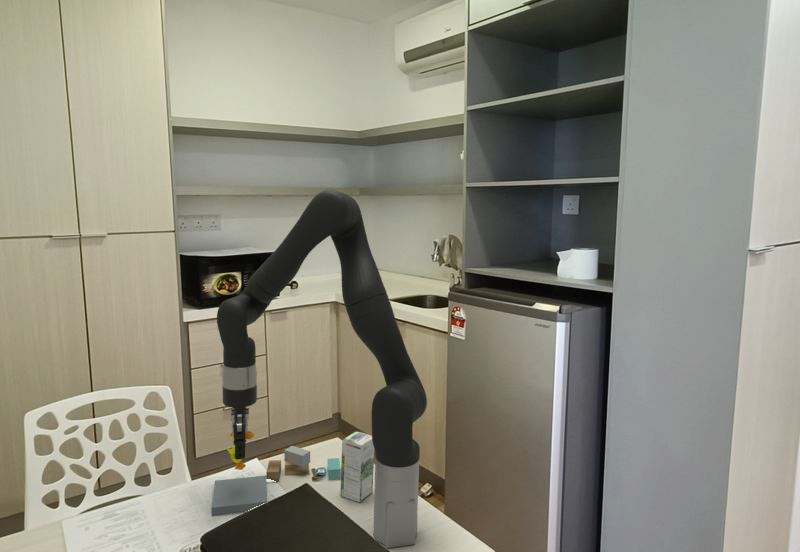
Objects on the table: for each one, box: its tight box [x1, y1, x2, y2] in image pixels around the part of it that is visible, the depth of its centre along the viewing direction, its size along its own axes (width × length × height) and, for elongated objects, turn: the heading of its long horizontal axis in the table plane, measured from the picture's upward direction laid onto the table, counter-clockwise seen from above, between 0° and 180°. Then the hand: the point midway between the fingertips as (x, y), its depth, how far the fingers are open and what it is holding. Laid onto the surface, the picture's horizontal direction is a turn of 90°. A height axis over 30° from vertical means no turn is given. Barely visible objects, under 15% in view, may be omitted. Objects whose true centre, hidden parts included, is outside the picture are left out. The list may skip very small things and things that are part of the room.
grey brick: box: [283, 445, 311, 467], centre depth 139 cm, size 6×3×3 cm, turn 61°
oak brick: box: [284, 461, 310, 477], centre depth 139 cm, size 6×3×3 cm, turn 101°
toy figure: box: [226, 419, 255, 471], centre depth 124 cm, size 7×4×12 cm, turn 80°
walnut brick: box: [265, 459, 282, 483], centre depth 137 cm, size 6×3×3 cm, turn 7°
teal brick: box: [327, 457, 341, 481], centre depth 139 cm, size 6×3×3 cm, turn 9°
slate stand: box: [211, 474, 268, 517], centre depth 126 cm, size 12×12×2 cm
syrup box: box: [339, 431, 375, 503], centre depth 128 cm, size 6×6×14 cm
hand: (240, 453), depth 125 cm, fingers closed on toy figure, 3 cm apart
